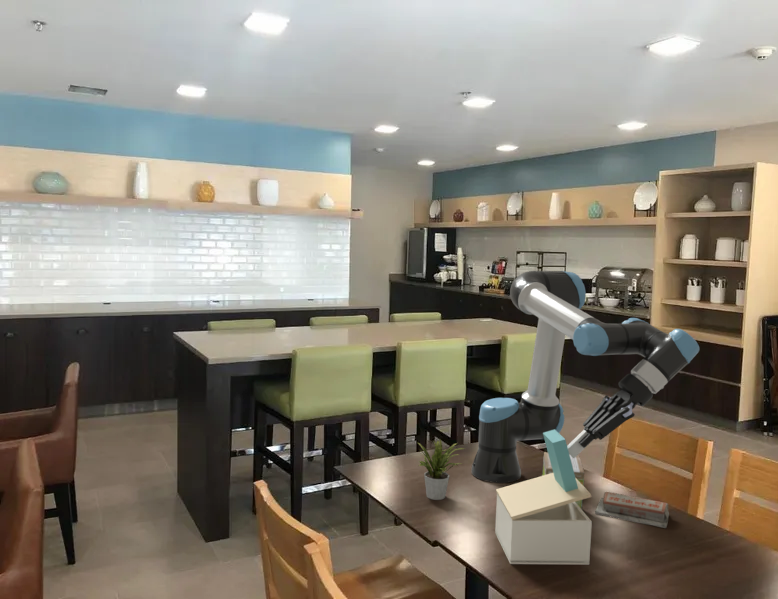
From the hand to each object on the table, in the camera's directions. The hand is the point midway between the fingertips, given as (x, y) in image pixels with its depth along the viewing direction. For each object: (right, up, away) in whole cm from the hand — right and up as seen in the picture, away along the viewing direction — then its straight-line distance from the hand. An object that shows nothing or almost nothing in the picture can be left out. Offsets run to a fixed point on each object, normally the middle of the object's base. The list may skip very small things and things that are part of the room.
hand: (569, 453), depth 154 cm
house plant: (-28, -20, +31) cm, 46 cm away
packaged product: (+23, -23, +24) cm, 40 cm away
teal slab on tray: (-6, -10, +1) cm, 12 cm away
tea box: (+4, -22, +22) cm, 31 cm away
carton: (-6, -23, +2) cm, 24 cm away
